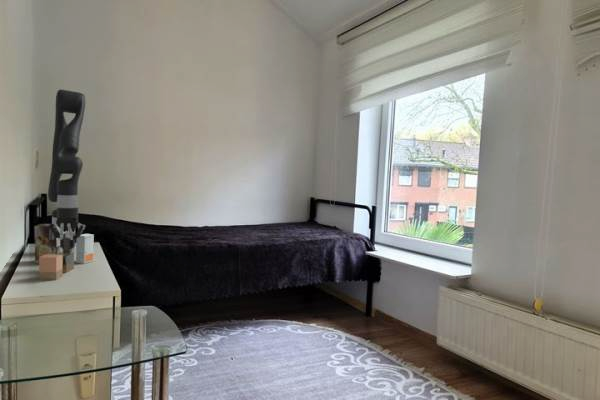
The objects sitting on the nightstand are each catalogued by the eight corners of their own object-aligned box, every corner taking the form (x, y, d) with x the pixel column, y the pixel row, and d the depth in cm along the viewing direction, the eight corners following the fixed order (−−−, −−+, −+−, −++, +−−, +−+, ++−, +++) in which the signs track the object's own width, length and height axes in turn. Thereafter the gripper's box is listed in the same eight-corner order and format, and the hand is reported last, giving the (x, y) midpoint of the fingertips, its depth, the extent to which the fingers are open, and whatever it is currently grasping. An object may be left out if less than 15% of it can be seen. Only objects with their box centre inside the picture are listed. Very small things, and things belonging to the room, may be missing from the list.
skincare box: (84, 264, 185) (84, 236, 184) (75, 263, 186) (75, 235, 185) (94, 261, 191) (94, 234, 190) (85, 260, 192) (85, 233, 191)
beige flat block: (66, 257, 179) (66, 236, 178) (73, 257, 179) (73, 237, 178) (53, 264, 167) (53, 242, 166) (60, 264, 167) (60, 242, 166)
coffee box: (63, 260, 189) (63, 224, 188) (56, 264, 183) (57, 226, 181) (41, 260, 188) (41, 223, 187) (33, 263, 182) (33, 225, 180)
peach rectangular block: (45, 276, 165) (45, 254, 164) (62, 276, 166) (62, 254, 165) (39, 279, 160) (39, 257, 159) (56, 280, 161) (56, 257, 160)
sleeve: (62, 268, 177) (62, 252, 176) (73, 268, 177) (73, 252, 177) (54, 272, 170) (54, 256, 169) (66, 272, 170) (66, 256, 170)
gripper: (44, 206, 170) (44, 250, 172) (81, 207, 171) (81, 251, 173) (53, 204, 177) (53, 246, 179) (89, 205, 179) (89, 247, 180)
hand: (67, 248), depth 176 cm, fingers closed on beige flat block, 2 cm apart
